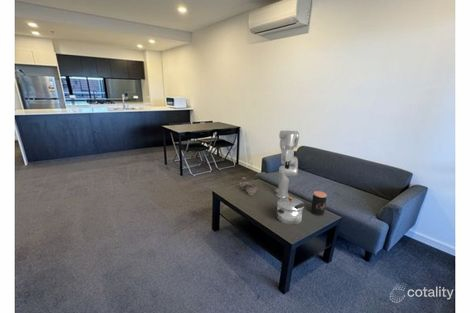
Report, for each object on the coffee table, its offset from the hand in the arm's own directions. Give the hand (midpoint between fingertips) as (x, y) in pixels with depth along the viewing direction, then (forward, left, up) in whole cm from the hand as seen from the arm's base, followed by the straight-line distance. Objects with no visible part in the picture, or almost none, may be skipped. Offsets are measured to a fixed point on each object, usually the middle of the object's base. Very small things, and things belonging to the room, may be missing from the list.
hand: (286, 168), depth 188 cm
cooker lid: (+14, -9, -25) cm, 30 cm away
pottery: (-44, -4, -37) cm, 58 cm away
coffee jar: (+23, +18, -37) cm, 47 cm away
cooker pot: (+14, -9, -37) cm, 41 cm away
